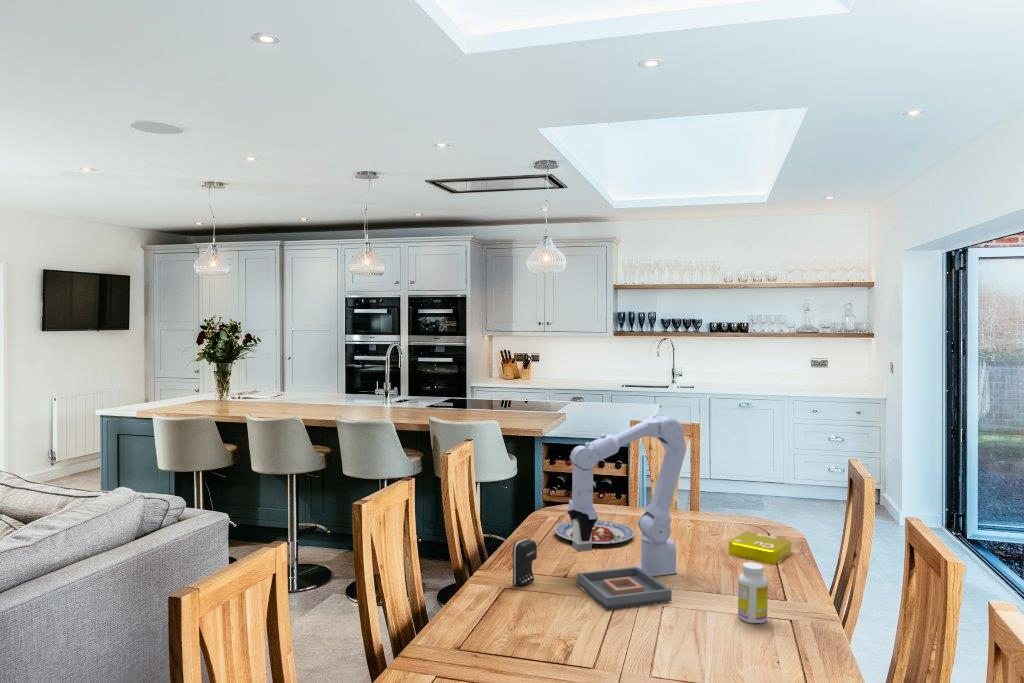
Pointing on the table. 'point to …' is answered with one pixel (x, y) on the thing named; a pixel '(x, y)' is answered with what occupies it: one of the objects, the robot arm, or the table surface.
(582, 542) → the grey square prism
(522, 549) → the battery charger
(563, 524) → the ceramic plate
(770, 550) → the element tile
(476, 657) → the table surface
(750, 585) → the supplement bottle
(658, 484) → the robot arm
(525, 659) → the table surface
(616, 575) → the walled box
